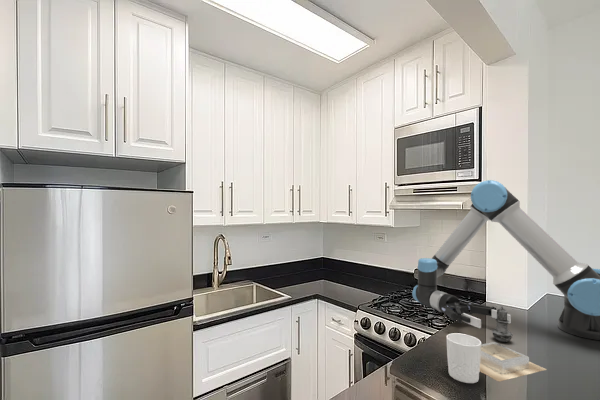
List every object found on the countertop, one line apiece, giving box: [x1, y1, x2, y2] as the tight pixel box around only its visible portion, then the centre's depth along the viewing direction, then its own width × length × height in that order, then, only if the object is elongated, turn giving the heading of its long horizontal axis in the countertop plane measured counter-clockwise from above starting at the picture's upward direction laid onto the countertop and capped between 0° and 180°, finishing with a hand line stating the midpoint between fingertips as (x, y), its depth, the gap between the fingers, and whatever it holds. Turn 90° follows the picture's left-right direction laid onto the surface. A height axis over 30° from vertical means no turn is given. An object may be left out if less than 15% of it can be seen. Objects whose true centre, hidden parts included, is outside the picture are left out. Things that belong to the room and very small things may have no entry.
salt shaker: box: [491, 306, 514, 343], centre depth 102 cm, size 6×6×12 cm
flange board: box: [479, 354, 547, 383], centre depth 87 cm, size 18×14×1 cm
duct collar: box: [480, 341, 530, 375], centre depth 87 cm, size 10×10×3 cm
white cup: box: [445, 332, 482, 384], centre depth 80 cm, size 8×8×10 cm
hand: (495, 321), depth 103 cm, fingers open, 13 cm apart
